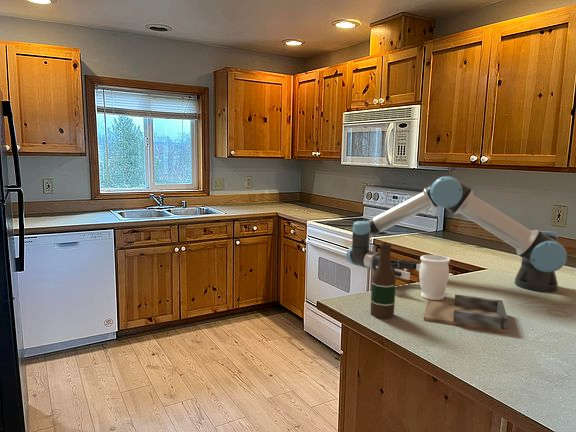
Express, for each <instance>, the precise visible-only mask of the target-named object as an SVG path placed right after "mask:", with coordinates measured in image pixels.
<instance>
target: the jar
mask: <svg viewBox="0 0 576 432" xmlns="http://www.w3.org/2000/svg"><path fill="white" fill-rule="evenodd" d="M419 259H420V261H421V262H420V270H419V271H418V272H419V273H418V276H419V277H418V278H419V286H420V290H421V293H420V296H421V297H422V298H424V299H426V300H429V301H441V300H443V299H444V298H445V294H444V293H445V292H446V289H447V285H448V282H449V279H450V278H449V277H450V268H449V267H450V266H449V263H450V261H451V259H450V258H449V257H447V256H443V255H439V254H424V255H421V256H420V257H419Z"/></svg>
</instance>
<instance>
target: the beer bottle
mask: <svg viewBox="0 0 576 432" xmlns="http://www.w3.org/2000/svg"><path fill="white" fill-rule="evenodd" d="M391 248H392V244H391V242H390V243H389V242H381V243H380V244H379V253H380V257H379V264H378V268H377V269H376V271H375V270H374V273H373V274H372V278H371V291H370V293H371V294H370V295H371V296H370V315H371V316H373V317H374V318H376V319H383V320H385V319H387V320H388V319H392V318H393V316H394V313H395V302H396V301H395V300H396V299H395V298H396V283H397V280H396V279H397V277H396V276H395V274H394V272H393V270H392V268H391V260H392V259H391Z"/></svg>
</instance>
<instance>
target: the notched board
mask: <svg viewBox="0 0 576 432" xmlns="http://www.w3.org/2000/svg"><path fill="white" fill-rule="evenodd" d="M423 321H427V322H435V323H441V324H446V325H447V324H448V325H453V326H459V327H466V328H472V329H477V330H478V329H479V330H484V331H491V332H495V333H496V332H497V333H504V334H508V332H509V329H508V315H507V312H506V308H505V304H504V301H503V300H502V299H501V300H500V299H494V298H486V297H479V296H478V297H477V296H471V295H470V296H469V295H463V294H454V303H450V302H442V301H437V300H430V299H427V302H426V306H425V311H424V314H423Z"/></svg>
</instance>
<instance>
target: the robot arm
mask: <svg viewBox="0 0 576 432" xmlns="http://www.w3.org/2000/svg"><path fill="white" fill-rule="evenodd" d="M432 207H433V208H437V207H440V208H444V209H446V210H447V211H449V212H450V213H452V214H453V215H457V214H460V215H462V216H464V217H466V218H467V219H468V220H470V221H471V222H473V223H474V224H477V225H478V226H479V227H481V228H482V229H484V230H486V231H487V232H489V233H491V234H492V235H494V236H495V237H496V238H498V239H500V240H501V241H503V242H504V243H505V244H507V245H510V246H511V247H513V248H514V249H515V250H516V255H517V256H519V257H521V264H520V267H519V270H518V272H517V273H516V275H515V277H514V284H515V285H516V286H518V288H519V287H520V288H521V289H522V288H523V289H526V290H531V291H535V292H549V293H550V292H556V291H558V286H559V283H558V280H557V275H556V271H560V269H562V268H563V267H564V266H565V265H566V263H567V261H568V260H567V259H568V254H567V251H566V248H565V247H564V245H562V243H559V242H558V241H559V234H558V232H556V231H548V230H538V229H532V230H531V229H529V228H528V227H525V226H524V225H522V224H521V223H519V222H518V221H516V220H514V219H513V218H511V217H509V216H508V215H507V214H505V213H503V212H502V211H500V210H498V209H497V208H496V207H494V206H492V205H491V204H489V203H487V202H485V201H484V200H482V199H480V198H479V197H478V196H475V195H474V190H473V188H471V187H469V186H468V185H466V184H464V183H463V182H461V181H460V180H459V179H458V178H457V177H455V176H453V175H443V176H440V177H439V178H437V179H435V180H434V181H433V182H432V183H431V184H430V185H427V186H426V187H424V189H423V191H421V192H419V193H417V194H415V195H413V196H412V197H410V198H408V199H406V200H404V201H402V202H401V203H398V204H397V205H394V206H392V207H391V208H388V209H387V210H385V211H383V212H381V213H379V214H378V215H375V216H373V217H372V218H370V219H368V220H357V221H354V222H353V224H352V230H351V231H352V236H351V237H352V241H351V246H350V247H348V249H347V251H346V255H345V257H346V260H347V262H348V263H350V264H352V265H355V266H358V267H362V268H366V269H369V270H370V271H374V272H375V271H376V269H377V268H378V264H379V257H380V252H376V251H373V250H370V245H371V244H370V243H371V242H370V241H371V238H372V237H375V236H376V235H378V234H380V233H382V232H384V231H386V230H388V229H390V228H392V227H394V226H396V225H398V224H400V223H402V222H404V221H406V220H408V219H411V218H413V216H416V215H418V214H420V213H423V212H424V211H427V210H428V209H429V208H432ZM420 264H421V262H420V261H412V260H402V259H398V258H397V259H391V268H392V270H393V272H394V274H395V277H396V278H400V279H403V280H406V281H410V280H411V279H410V278H411V272H408V271H405V270H415V271H417V272H419V270H420ZM403 269H404V270H403Z"/></svg>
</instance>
